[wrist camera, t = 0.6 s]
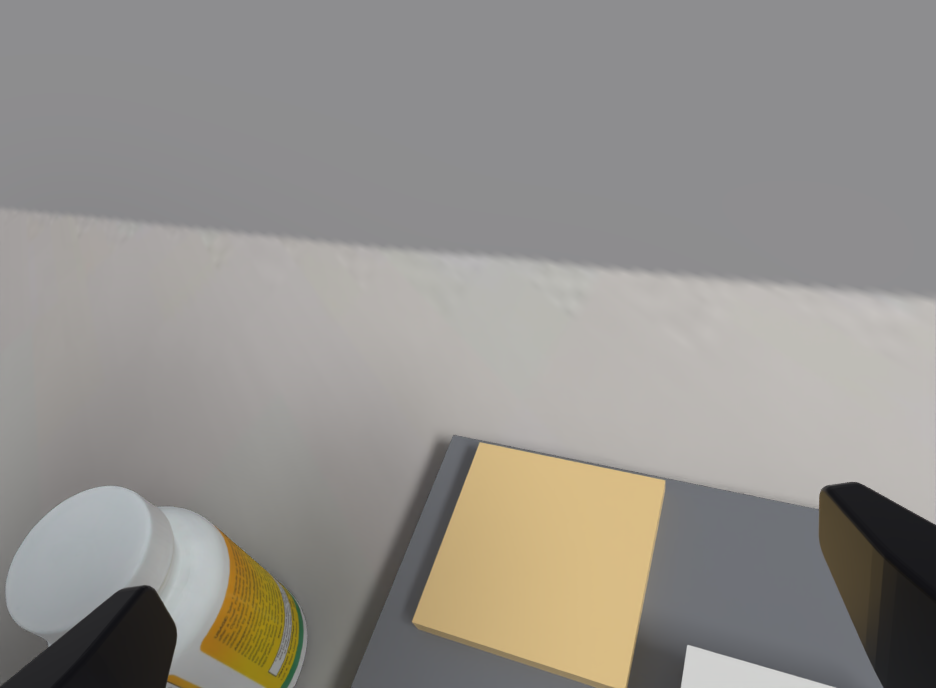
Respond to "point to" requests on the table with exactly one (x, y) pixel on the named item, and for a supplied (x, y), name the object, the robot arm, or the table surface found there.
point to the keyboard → (607, 585)
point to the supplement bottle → (160, 587)
